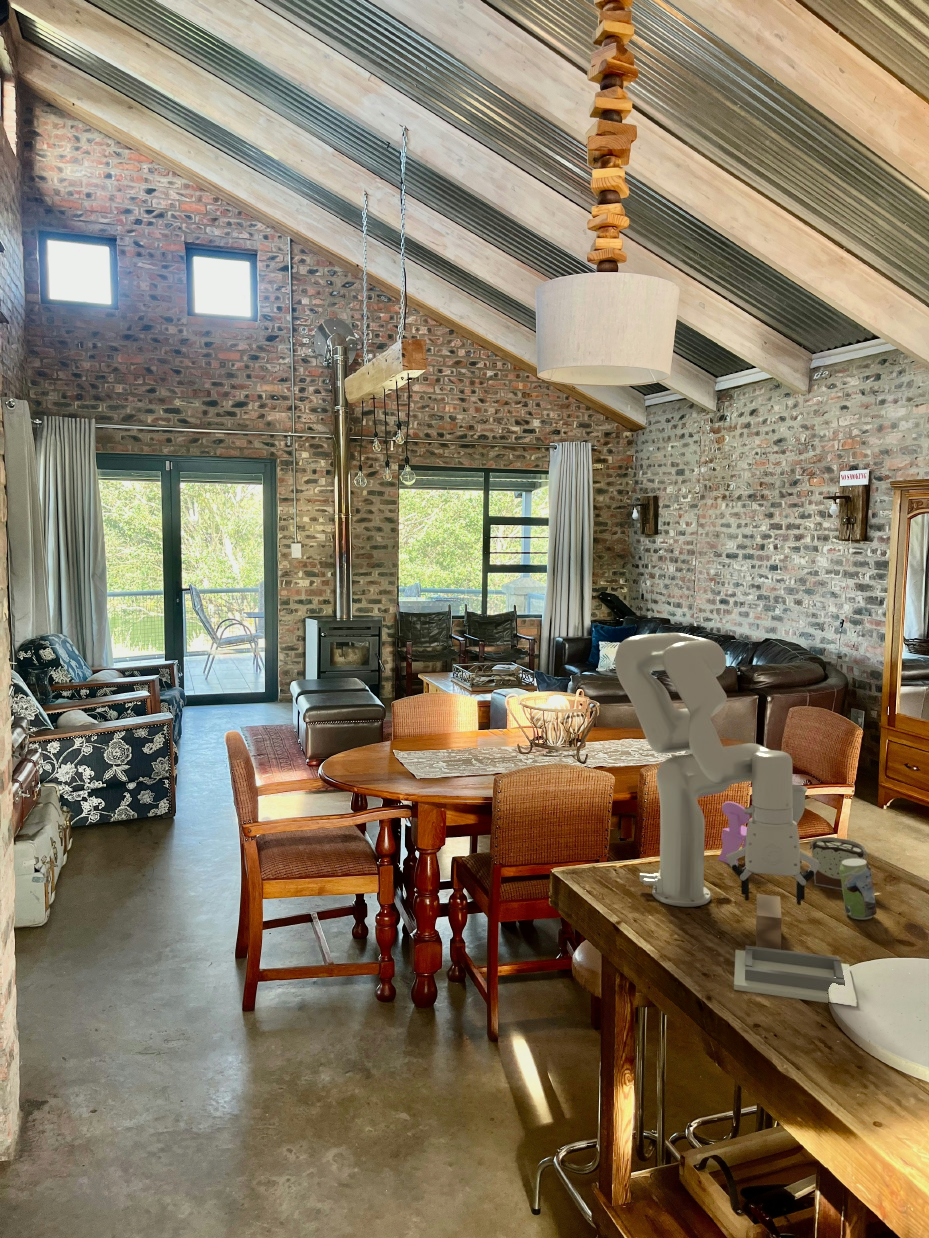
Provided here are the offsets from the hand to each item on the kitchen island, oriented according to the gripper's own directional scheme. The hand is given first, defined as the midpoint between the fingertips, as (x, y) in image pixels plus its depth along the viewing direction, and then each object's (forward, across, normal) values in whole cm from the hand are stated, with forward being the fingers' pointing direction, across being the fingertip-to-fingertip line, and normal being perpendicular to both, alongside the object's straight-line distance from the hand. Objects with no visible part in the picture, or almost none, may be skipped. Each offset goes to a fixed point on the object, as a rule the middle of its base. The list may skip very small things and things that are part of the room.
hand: (772, 900), depth 177 cm
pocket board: (+9, +3, -15) cm, 18 cm away
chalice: (+7, +5, +50) cm, 51 cm away
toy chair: (+7, -7, +46) cm, 47 cm away
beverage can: (+8, +17, +18) cm, 26 cm away
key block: (+8, -1, +1) cm, 8 cm away
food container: (+8, +15, +36) cm, 40 cm away
